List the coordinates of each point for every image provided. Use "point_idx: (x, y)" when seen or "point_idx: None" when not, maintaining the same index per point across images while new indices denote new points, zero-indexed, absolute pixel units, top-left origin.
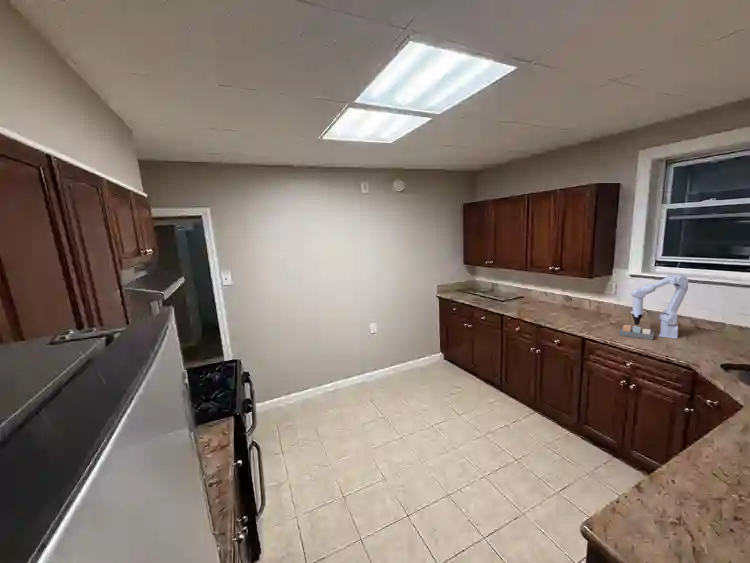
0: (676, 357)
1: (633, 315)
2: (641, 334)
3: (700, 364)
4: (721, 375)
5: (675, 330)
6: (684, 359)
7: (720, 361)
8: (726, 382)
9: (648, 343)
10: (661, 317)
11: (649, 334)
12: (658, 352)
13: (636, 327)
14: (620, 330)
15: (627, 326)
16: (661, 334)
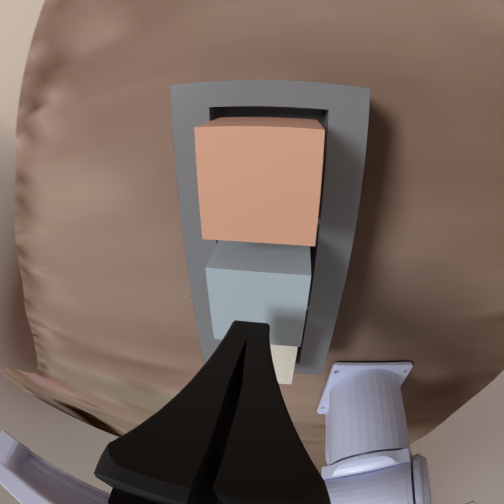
0: (47, 355)
1: (105, 481)
2: (194, 298)
3: (52, 382)
4: (33, 386)
5: (326, 449)
6: (51, 366)
7: (111, 422)
8: (14, 377)
9: (126, 302)
10: (384, 500)
11: (215, 348)
12: (41, 319)
13: (215, 306)
14: (224, 83)
15: (208, 194)
16: (349, 379)
